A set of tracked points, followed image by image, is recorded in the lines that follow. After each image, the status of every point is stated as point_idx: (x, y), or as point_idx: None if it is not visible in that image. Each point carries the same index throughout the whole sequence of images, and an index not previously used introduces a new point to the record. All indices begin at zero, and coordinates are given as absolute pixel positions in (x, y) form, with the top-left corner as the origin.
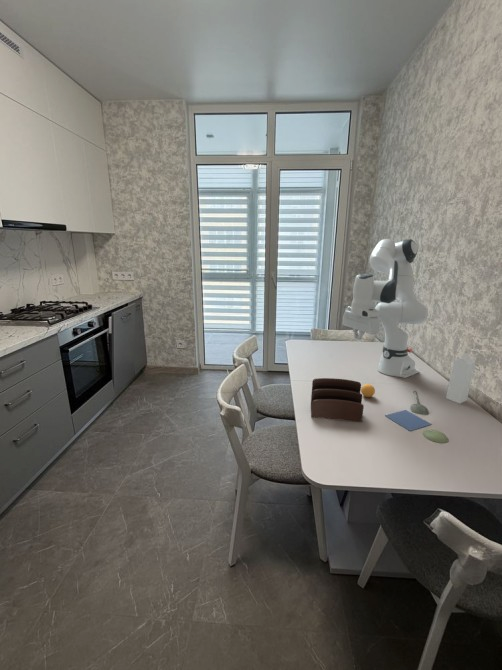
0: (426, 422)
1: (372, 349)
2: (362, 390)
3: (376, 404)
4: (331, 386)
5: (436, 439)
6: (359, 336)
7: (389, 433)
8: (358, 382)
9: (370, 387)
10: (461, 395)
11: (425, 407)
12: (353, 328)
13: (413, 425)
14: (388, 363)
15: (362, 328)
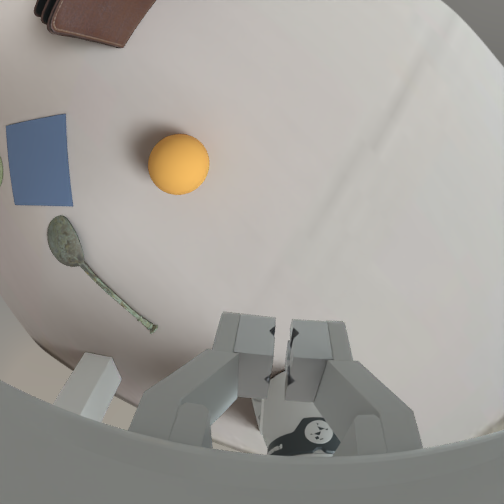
0: (20, 199)
1: (431, 438)
2: (181, 135)
3: (125, 143)
4: None
5: None
6: (212, 348)
7: (15, 68)
8: (49, 18)
9: (152, 163)
10: (75, 367)
11: (56, 257)
12: (411, 452)
13: (16, 154)
14: (302, 403)
15: (22, 462)
